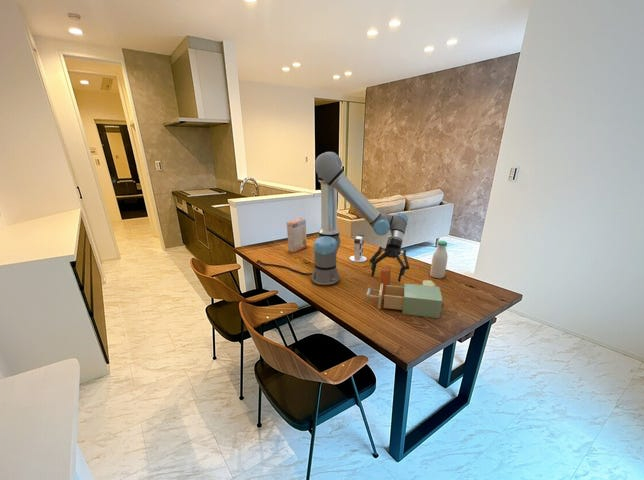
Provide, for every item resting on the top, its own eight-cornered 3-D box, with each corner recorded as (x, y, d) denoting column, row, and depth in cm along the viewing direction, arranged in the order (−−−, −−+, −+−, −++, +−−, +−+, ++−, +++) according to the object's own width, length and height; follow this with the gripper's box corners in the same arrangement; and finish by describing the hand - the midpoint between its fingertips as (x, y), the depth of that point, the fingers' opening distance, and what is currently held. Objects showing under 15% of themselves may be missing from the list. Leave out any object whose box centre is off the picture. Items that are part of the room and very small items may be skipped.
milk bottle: (445, 279, 163) (451, 244, 155) (430, 278, 165) (436, 243, 156) (443, 273, 170) (449, 240, 162) (428, 272, 171) (434, 239, 163)
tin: (378, 292, 150) (380, 270, 145) (379, 288, 154) (381, 266, 149) (388, 293, 149) (390, 271, 144) (388, 289, 153) (391, 267, 148)
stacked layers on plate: (415, 288, 153) (416, 278, 151) (432, 288, 153) (434, 279, 151) (420, 297, 144) (421, 287, 142) (438, 298, 144) (440, 288, 142)
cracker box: (300, 246, 216) (299, 217, 208) (307, 247, 213) (306, 218, 204) (287, 251, 206) (286, 221, 197) (294, 253, 203) (293, 223, 194)
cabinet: (402, 313, 131) (404, 296, 128) (402, 299, 143) (404, 283, 140) (439, 318, 128) (442, 301, 124) (436, 302, 140) (439, 286, 136)
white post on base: (364, 263, 185) (366, 240, 179) (347, 261, 188) (347, 238, 182) (368, 256, 195) (369, 234, 189) (351, 254, 199) (352, 233, 192)
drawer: (364, 307, 135) (365, 293, 132) (367, 294, 146) (368, 282, 143) (410, 312, 131) (412, 299, 128) (410, 299, 141) (412, 286, 139)
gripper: (419, 247, 153) (411, 285, 147) (373, 241, 163) (363, 276, 157) (419, 240, 146) (410, 280, 140) (370, 234, 156) (360, 271, 150)
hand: (385, 278), depth 149 cm, fingers open, 13 cm apart
